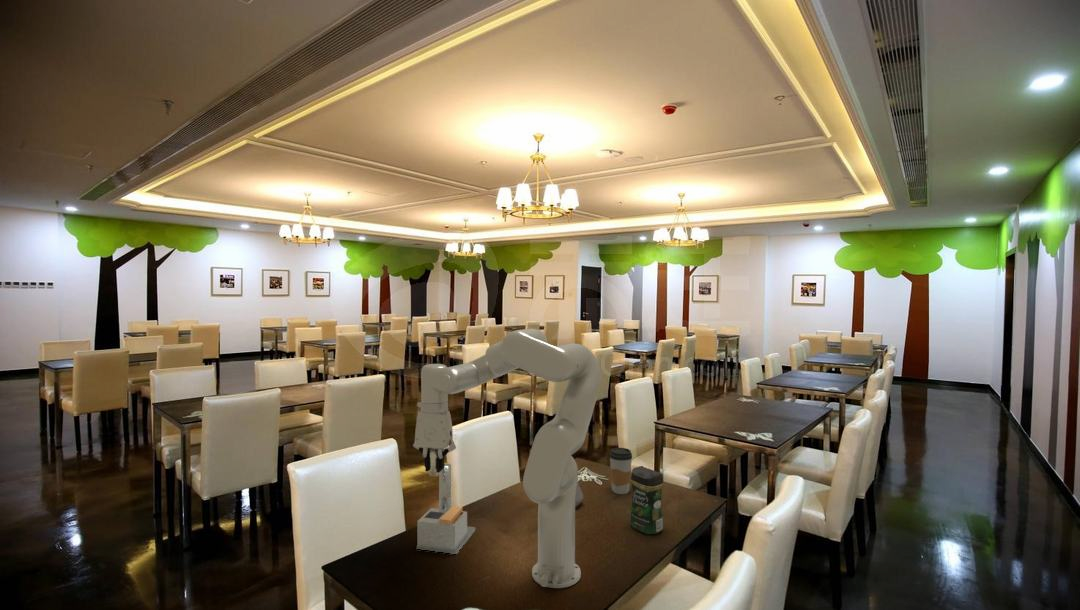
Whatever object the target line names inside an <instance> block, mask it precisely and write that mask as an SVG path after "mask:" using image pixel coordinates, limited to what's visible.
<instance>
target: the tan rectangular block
mask: <svg viewBox="0 0 1080 610" xmlns="http://www.w3.org/2000/svg"><path fill="white" fill-rule="evenodd" d="M463 509H464V508H463V506H455V505H454V506H453V505H451V508H450V509H449V510H448V511H447V512H446V513H445V514H444V515H443V516H442V517H441V518H440V523H441V524H449V525H450V524H451V523H453V524H454V523H455V521H456V520H457V519H458V518H459V517H460V516H461V512H462V511H464V510H463Z"/></svg>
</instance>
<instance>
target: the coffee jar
mask: <svg viewBox="0 0 1080 610" xmlns="http://www.w3.org/2000/svg"><path fill="white" fill-rule="evenodd" d="M630 484H631V486H632V487H631V488H632V499H631V509H630V511H631V512H630V526H631V527H632V528H633V529H634V530H637V531H638V532H641V533H643V534H646V535H656V534H659V533H661V532H662V531H663V529H664V521H663V520H664V519H663V518H664V517H663V508H662V506H663V505H662V491H663V487H664V476H663V473H662V472H661V471H660V472H659V471H656V470H653V469H651V468H647V467H646V466H645V467H644V466H643V465H640V466H637V467H636V466H635V467H634V468H633V469H631V478H630Z"/></svg>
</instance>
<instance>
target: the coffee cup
mask: <svg viewBox="0 0 1080 610" xmlns="http://www.w3.org/2000/svg"><path fill="white" fill-rule="evenodd" d="M608 458H609V462H610V463H609V464H610V466H609V467H610V469H609V470H610V483H611V484H610V485H611V491H612V492H613V493H614V494H617V495H626V494H628V493H629V492H630V486H631V485H630V484H631V475H632V460H633V453H632V450H631V449H630V448H626V447H614V448H611V449H610V452H609V457H608Z"/></svg>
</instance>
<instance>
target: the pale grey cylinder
mask: <svg viewBox="0 0 1080 610" xmlns="http://www.w3.org/2000/svg"><path fill="white" fill-rule="evenodd" d="M437 458H438V449H433V448H429V471H428V472H429V473H428V474H429V476H430V477H439V473H438V472H437Z"/></svg>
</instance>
